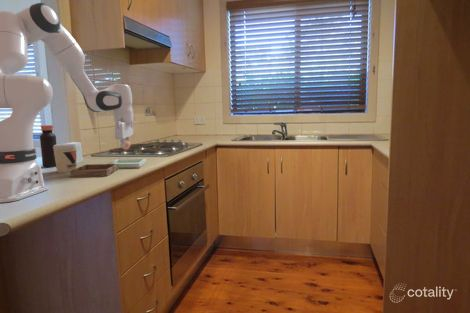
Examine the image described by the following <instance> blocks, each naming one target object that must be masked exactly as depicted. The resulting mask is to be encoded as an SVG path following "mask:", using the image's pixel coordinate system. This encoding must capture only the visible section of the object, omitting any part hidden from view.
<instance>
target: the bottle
mask: <svg viewBox="0 0 470 313" xmlns="http://www.w3.org/2000/svg"><path fill="white" fill-rule="evenodd" d="M40 128H41V129H40V130H41V134H40V135H39V142H40V151H41V162H42V163H41V164H42V167H43V168H57V167H56V161H55V155H54V149H53V147H54V145H57V136H56V134H55V133H54V132H53V131H54V127H53V125H48V124H47V125H46V124H45V125H41V126H40Z"/></svg>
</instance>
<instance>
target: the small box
mask: <svg viewBox="0 0 470 313" xmlns="http://www.w3.org/2000/svg"><path fill="white" fill-rule="evenodd" d="M64 144H76V164H79V163H83V162H84V159H83V150H82V149H83V148H82V142H77V141H73V142H67V143H66V142H65V143H64Z"/></svg>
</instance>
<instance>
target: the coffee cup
mask: <svg viewBox="0 0 470 313" xmlns="http://www.w3.org/2000/svg"><path fill="white" fill-rule="evenodd" d="M56 144H57V143H56ZM53 149H54V155H55V161H56V167H55V168H56V171H57V173H60V174H66V173H70V171H71V170H74V169H76V168H77V163H76V144H65V143H58V144H57V145H54V147H53Z"/></svg>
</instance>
